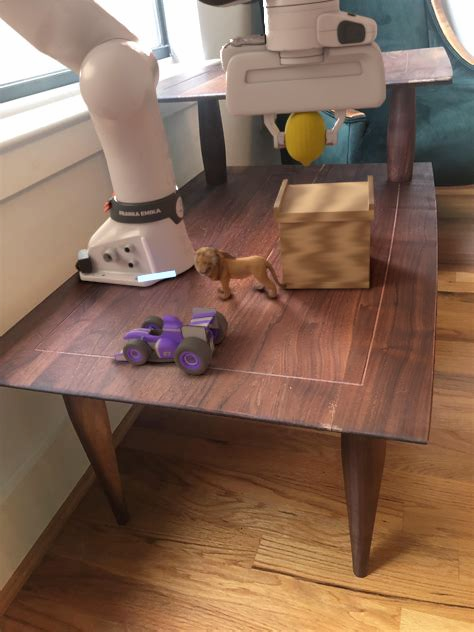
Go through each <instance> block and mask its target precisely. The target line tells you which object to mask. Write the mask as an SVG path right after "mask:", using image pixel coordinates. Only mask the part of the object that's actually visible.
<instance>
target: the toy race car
mask: <svg viewBox="0 0 474 632" xmlns="http://www.w3.org/2000/svg"><path fill="white" fill-rule="evenodd" d="M191 314H192V317H191V321H189V323H188V324H186V323H184V322H183V321H181V320H180V318H178V316H176V315H174V314H173V315H170V314H164V315H163V316H162V318H161V317H160V316H159V315H154V314H153V315H149V316H147V317H145V319H144V320H143V322H142V323H141V325H140V328H139V327H138V328H134V329H131V330H129V331H128V332H127V333H125V334H124V336H123V337H122V338H123V340H124V341H126V343H125V344H124V346H123V347H122V349H121V350H120V351H119V353H114V354H113V357H114V360H115V361H119V362H128V363H130V364H131V365H135V366H141V365H143V364H145V363H146V362H153V363H171V362H172V363H173V362H174V363H175V365H176V367H178V369H179V370H181V371H182V372H183V373H186V374H188V375H193V376H199V375H202V374H204V373H205V372H206V370H207V369H208V367H209V365H210V364H211V361H212V359H213V353H214V350H215V349H216V348H215V345H217V344H219V343H220V342H222V341H223V339H224V337H225V336H226V334H227V331H228V329H229V322H228V320H227V318H226V316H225V315H224V314H222V313H221V312H220V311H219V310H218V309H217V307H206V306H194V307H193V308H192V309H191ZM150 348H151V349H152V350H153V351H152V353H151V349H150Z"/></svg>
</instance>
